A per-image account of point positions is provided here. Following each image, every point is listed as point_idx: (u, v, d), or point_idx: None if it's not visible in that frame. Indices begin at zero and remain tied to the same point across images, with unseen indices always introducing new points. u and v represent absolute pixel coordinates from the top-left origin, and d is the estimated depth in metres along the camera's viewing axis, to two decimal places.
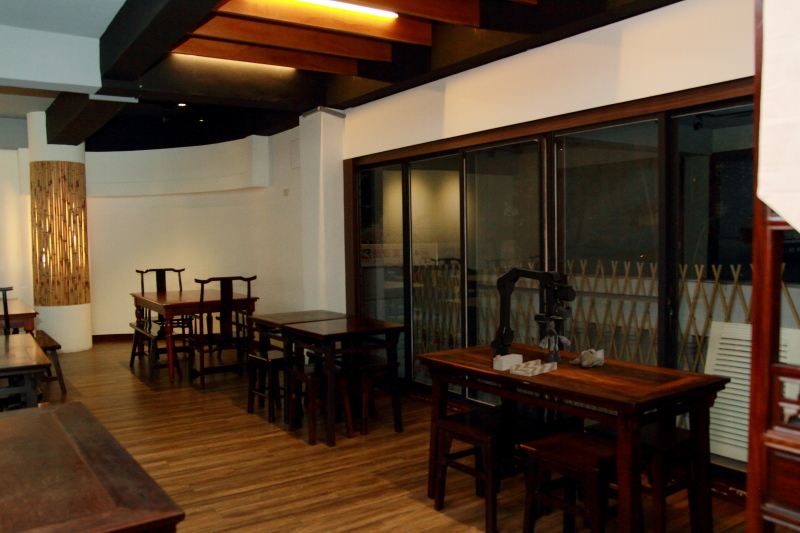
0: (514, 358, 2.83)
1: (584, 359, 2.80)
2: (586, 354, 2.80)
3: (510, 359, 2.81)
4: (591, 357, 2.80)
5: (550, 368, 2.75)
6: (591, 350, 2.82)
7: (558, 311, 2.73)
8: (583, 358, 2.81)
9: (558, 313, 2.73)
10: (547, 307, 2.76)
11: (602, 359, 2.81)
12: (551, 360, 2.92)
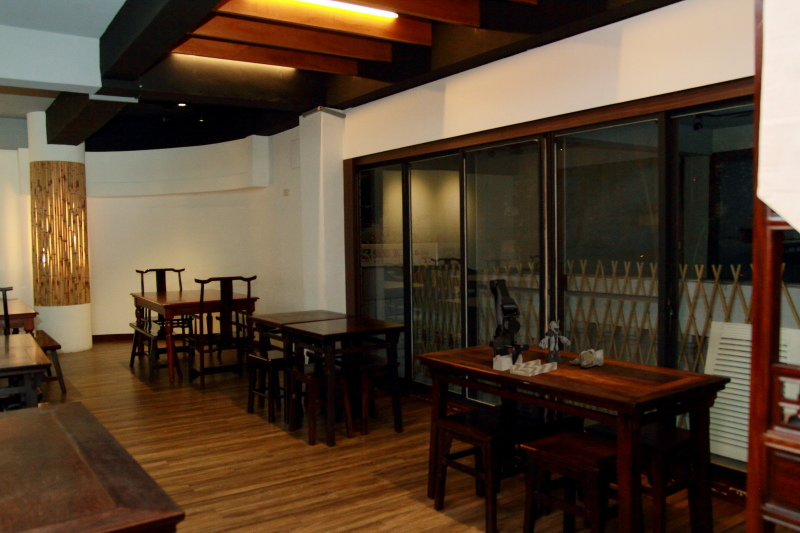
0: None
1: (583, 359, 2.80)
2: (585, 354, 2.80)
3: (510, 359, 2.81)
4: (591, 357, 2.80)
5: (550, 368, 2.75)
6: (590, 350, 2.82)
7: None
8: (582, 358, 2.80)
9: None
10: None
11: (601, 359, 2.81)
12: (551, 360, 2.92)
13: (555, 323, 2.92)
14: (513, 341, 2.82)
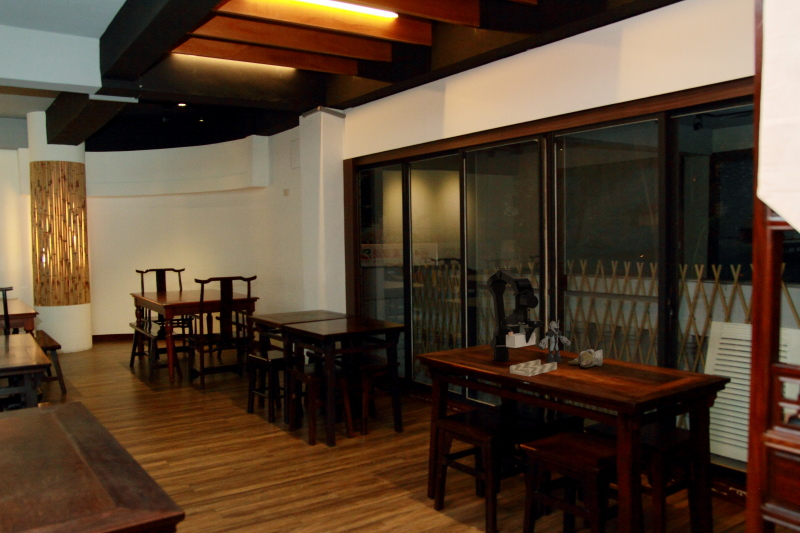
0: None
1: (583, 359, 2.80)
2: (584, 354, 2.80)
3: (523, 336, 2.75)
4: (590, 357, 2.79)
5: (550, 368, 2.75)
6: (590, 350, 2.82)
7: None
8: (582, 358, 2.80)
9: None
10: None
11: (601, 359, 2.81)
12: (551, 360, 2.92)
13: (555, 323, 2.92)
14: (526, 318, 2.76)
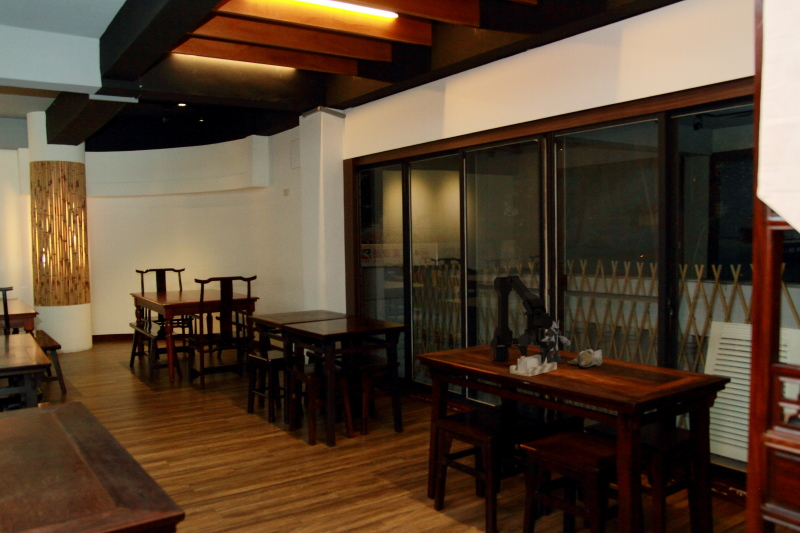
0: (539, 359, 2.74)
1: (582, 359, 2.80)
2: (584, 354, 2.80)
3: (535, 360, 2.72)
4: (589, 357, 2.79)
5: (550, 368, 2.75)
6: (589, 350, 2.82)
7: None
8: (581, 358, 2.80)
9: None
10: None
11: (600, 359, 2.81)
12: (551, 360, 2.92)
13: (555, 323, 2.92)
14: (538, 338, 2.73)
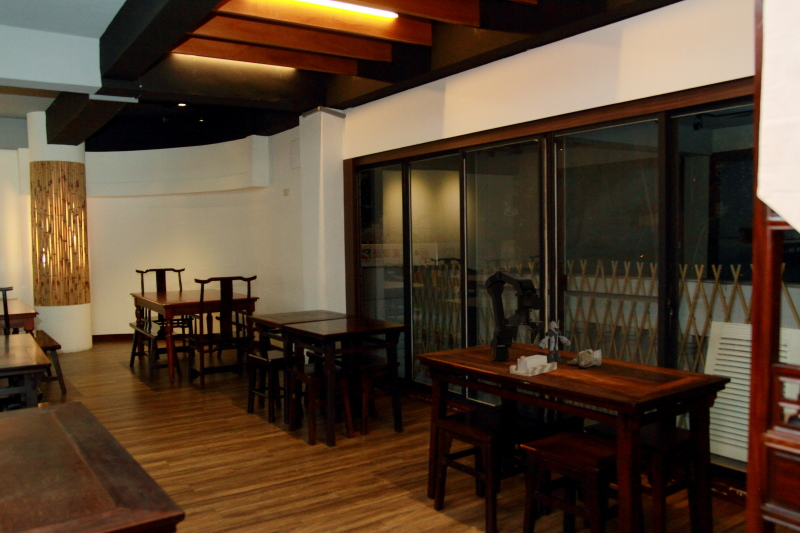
0: (539, 359, 2.74)
1: (582, 359, 2.80)
2: (583, 354, 2.80)
3: (535, 360, 2.72)
4: (589, 357, 2.79)
5: (550, 368, 2.75)
6: (589, 350, 2.82)
7: None
8: (581, 358, 2.80)
9: None
10: None
11: (600, 359, 2.81)
12: (551, 360, 2.92)
13: (555, 323, 2.92)
14: (528, 319, 2.79)
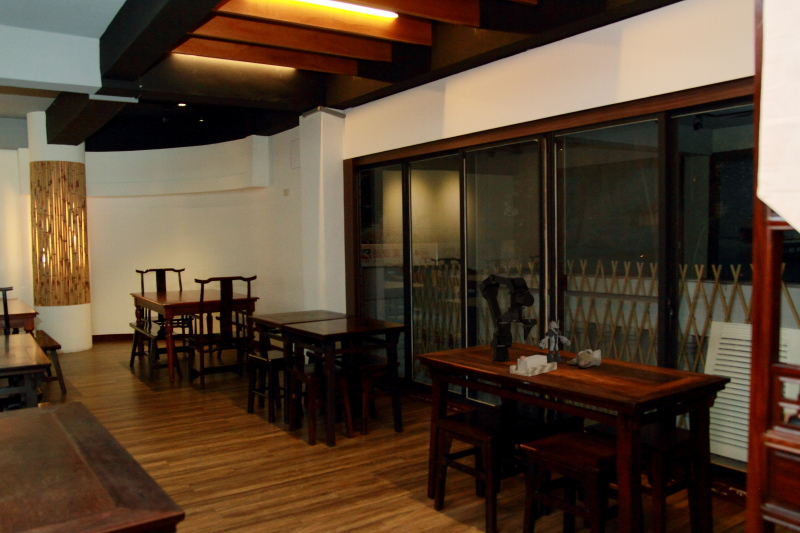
0: (539, 359, 2.74)
1: (581, 359, 2.80)
2: (583, 354, 2.80)
3: (535, 360, 2.72)
4: (589, 357, 2.79)
5: (550, 368, 2.75)
6: (588, 350, 2.82)
7: None
8: (580, 358, 2.80)
9: None
10: None
11: (599, 359, 2.81)
12: (551, 360, 2.92)
13: (555, 323, 2.92)
14: (521, 316, 2.84)
